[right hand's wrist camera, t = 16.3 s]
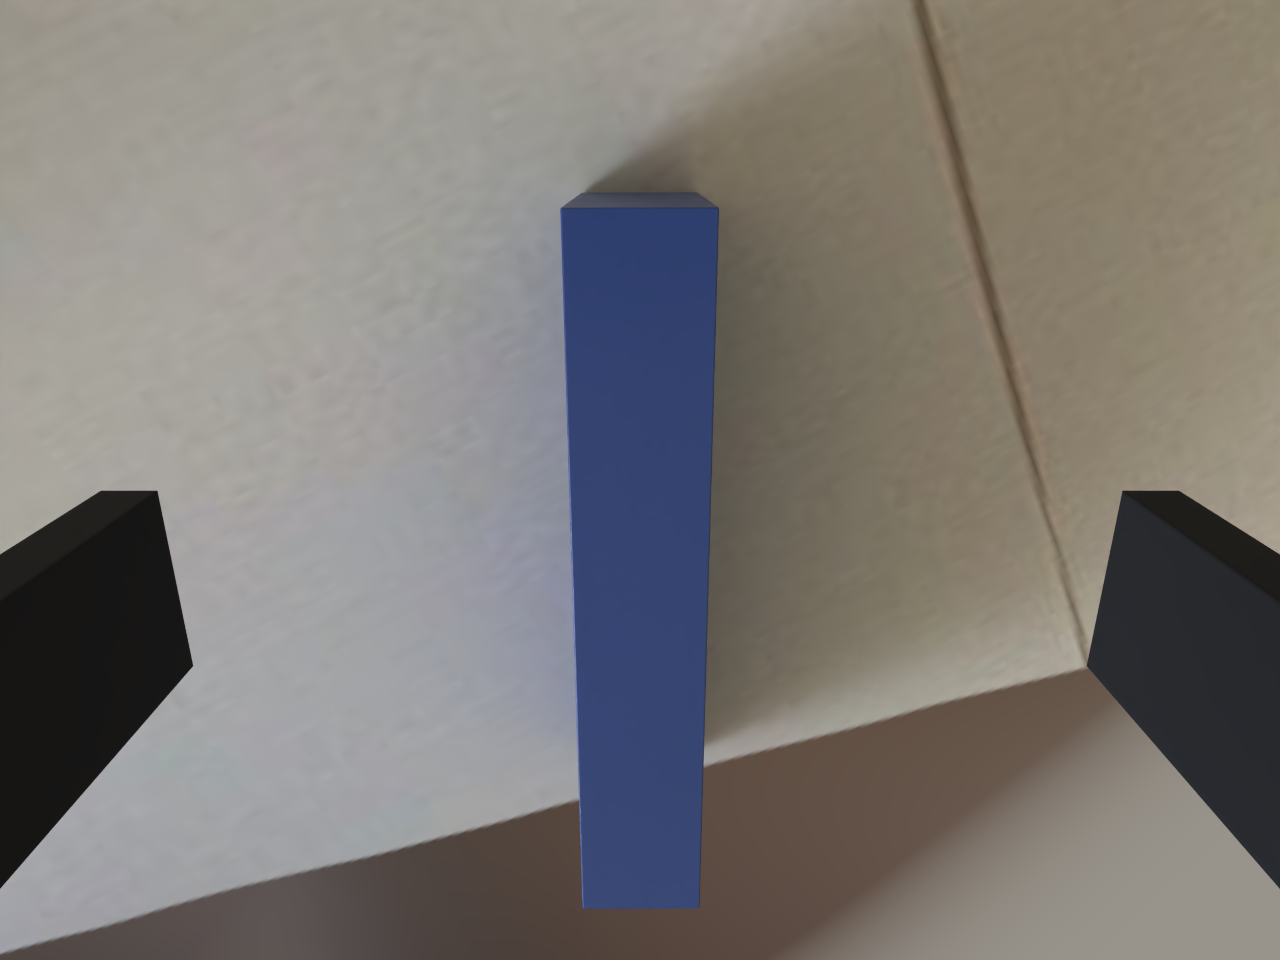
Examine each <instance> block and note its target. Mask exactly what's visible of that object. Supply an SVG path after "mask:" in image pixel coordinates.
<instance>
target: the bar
mask: <svg viewBox="0 0 1280 960" xmlns="http://www.w3.org/2000/svg"><path fill="white" fill-rule="evenodd" d="M718 225H719V208H718V207H717V206H715V205H714V204H712V203H711V202H710V201H708V200H707V199H706V198H704V197H703V196H701V195H700V194H699V193H581V194H580V195H578V196H577V197H575V198H574V199H573V200H571V201H570V202H569V203H567V204H566V205H565V206H563V207H562V208H561V240H562V271H563V303H564V334H565V366H566V397H567V428H568V460H569V491H570V523H571V554H572V586H573V617H574V649H575V680H576V712H577V743H578V775H579V806H580V837H581V869H582V900H583V908H584V909H617V908H618V909H621V908H623V909H625V908H626V909H628V908H699V902H700V866H701V831H702V795H703V759H704V724H705V688H706V652H707V617H708V581H709V545H710V510H711V474H712V438H713V403H714V367H715V332H716V296H717V260H718Z"/></svg>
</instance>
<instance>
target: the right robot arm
mask: <svg viewBox="0 0 1280 960" xmlns="http://www.w3.org/2000/svg"><path fill="white" fill-rule="evenodd" d="M192 667H193V663H192V658H191V653H190V648H189V643H188V638H187V634H186V629H185V624H184V619H183V614H182V609H181V604H180V599H179V594H178V589H177V585H176V580H175V575H174V570H173V565H172V560H171V555H170V550H169V545H168V541H167V536H166V531H165V526H164V521H163V516H162V511H161V506H160V501H159V497H158V492H157V491H100V492H98V493H97V494H95V495H94V496H92V497H90V498H89V499H87V500H86V501H84V502H83V503H81V504H79V505H78V506H76V507H75V508H73V509H71V510H70V511H68V512H67V513H65V514H64V515H62V516H60V517H59V518H57V519H56V520H54V521H52V522H51V523H49V524H48V525H46V526H45V527H43V528H41V529H40V530H38V531H37V532H35V533H33V534H32V535H30V536H29V537H27V538H26V539H24V540H22V541H21V542H19V543H18V544H16V545H15V546H13V547H11V548H10V549H8V550H7V551H5V552H3V553H2V554H0V888H1V887H2V886H3V885H4V884H5V882H6V881H7V880H8V879H9V878H10V877H11V876H12V874H13V873H14V872H15V871H16V870H17V869H18V867H19V866H20V865H21V864H22V863H23V862H24V861H25V859H26V858H27V857H28V856H29V855H30V854H31V852H32V851H33V850H34V849H35V848H36V847H37V846H38V844H39V843H40V842H41V841H42V840H43V839H44V837H45V836H46V835H47V834H48V833H49V832H50V831H51V829H52V828H53V827H54V826H55V825H56V824H57V822H58V821H59V820H60V819H61V818H62V817H63V816H64V814H65V813H66V812H67V811H68V810H69V809H70V807H71V806H72V805H73V804H74V803H75V802H76V801H77V799H78V798H79V797H80V796H81V795H82V794H83V792H84V791H85V790H86V789H87V788H88V787H89V786H90V784H91V783H92V782H93V781H94V780H95V779H96V777H97V776H98V775H99V774H100V773H101V772H102V771H103V769H104V768H105V767H106V766H107V765H108V764H109V762H110V761H111V760H112V759H113V758H114V757H115V756H116V754H117V753H118V752H119V751H120V750H121V749H122V747H123V746H124V745H125V744H126V743H127V742H128V741H129V739H130V738H131V737H132V736H133V735H134V734H135V732H136V731H137V730H138V729H139V728H140V727H141V726H142V724H143V723H144V722H145V721H146V720H147V719H148V717H149V716H150V715H151V714H152V713H153V712H154V711H155V709H156V708H157V707H158V706H159V705H160V704H161V702H162V701H163V700H164V699H165V698H166V697H167V696H168V694H169V693H170V692H171V691H172V690H173V689H174V687H175V686H176V685H177V684H178V683H179V682H180V681H181V679H182V678H183V677H184V676H185V675H186V674H187V672H188V671H189V670H190V669H191V668H192ZM1087 667H1088V668H1089V669H1090V670H1091V671H1092V672H1093V674H1094V675H1095V676H1096V677H1097V678H1098V679H1099V680H1100V682H1101V683H1102V684H1103V685H1104V686H1105V687H1106V689H1107V690H1108V691H1109V692H1110V693H1111V694H1112V696H1113V697H1114V698H1115V699H1116V700H1117V701H1118V702H1119V704H1120V705H1121V706H1122V707H1123V708H1124V709H1125V711H1126V712H1127V713H1128V714H1129V715H1130V716H1131V717H1132V719H1133V720H1134V721H1135V722H1136V723H1137V724H1138V726H1139V727H1140V728H1141V729H1142V730H1143V731H1144V732H1145V734H1146V735H1147V736H1148V737H1149V738H1150V739H1151V740H1152V742H1153V743H1154V744H1155V745H1156V746H1157V747H1158V749H1159V750H1160V751H1161V752H1162V753H1163V754H1164V755H1165V757H1166V758H1167V759H1168V760H1169V761H1170V762H1171V764H1172V765H1173V766H1174V767H1175V768H1176V769H1177V771H1178V772H1179V773H1180V774H1181V775H1182V776H1183V777H1184V779H1185V780H1186V781H1187V782H1188V783H1189V784H1190V786H1191V787H1192V788H1193V789H1194V790H1195V791H1196V792H1197V794H1198V795H1199V796H1200V797H1201V798H1202V799H1203V801H1204V802H1205V803H1206V804H1207V805H1208V806H1209V807H1210V809H1211V810H1212V811H1213V812H1214V813H1215V814H1216V816H1217V817H1218V818H1219V819H1220V820H1221V821H1222V822H1223V824H1224V825H1225V826H1226V827H1227V828H1228V829H1229V831H1230V832H1231V833H1232V834H1233V835H1234V836H1235V837H1236V839H1237V840H1238V841H1239V842H1240V843H1241V844H1242V846H1243V847H1244V848H1245V849H1246V850H1247V851H1248V852H1249V854H1250V855H1251V856H1252V857H1253V858H1254V859H1255V861H1256V862H1257V863H1258V864H1259V865H1260V866H1261V867H1262V869H1263V870H1264V871H1265V872H1266V873H1267V874H1268V876H1269V877H1270V878H1271V879H1272V880H1273V881H1274V882H1275V884H1276V885H1277V886H1278V887H1279V888H1280V554H1278V553H1277V552H1275V551H1273V550H1272V549H1270V548H1269V547H1267V546H1265V545H1264V544H1262V543H1261V542H1259V541H1258V540H1256V539H1254V538H1253V537H1251V536H1250V535H1248V534H1246V533H1245V532H1243V531H1242V530H1240V529H1239V528H1237V527H1235V526H1234V525H1232V524H1231V523H1229V522H1228V521H1226V520H1224V519H1223V518H1221V517H1220V516H1218V515H1216V514H1215V513H1213V512H1212V511H1210V510H1209V509H1207V508H1205V507H1204V506H1202V505H1201V504H1199V503H1197V502H1196V501H1194V500H1193V499H1191V498H1190V497H1188V496H1186V495H1185V494H1183V493H1182V492H1180V491H1123V492H1122V497H1121V501H1120V506H1119V511H1118V516H1117V521H1116V526H1115V531H1114V536H1113V541H1112V545H1111V550H1110V555H1109V560H1108V565H1107V570H1106V575H1105V580H1104V585H1103V589H1102V594H1101V599H1100V604H1099V609H1098V614H1097V619H1096V624H1095V629H1094V634H1093V638H1092V643H1091V648H1090V653H1089V658H1088V663H1087Z"/></svg>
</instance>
